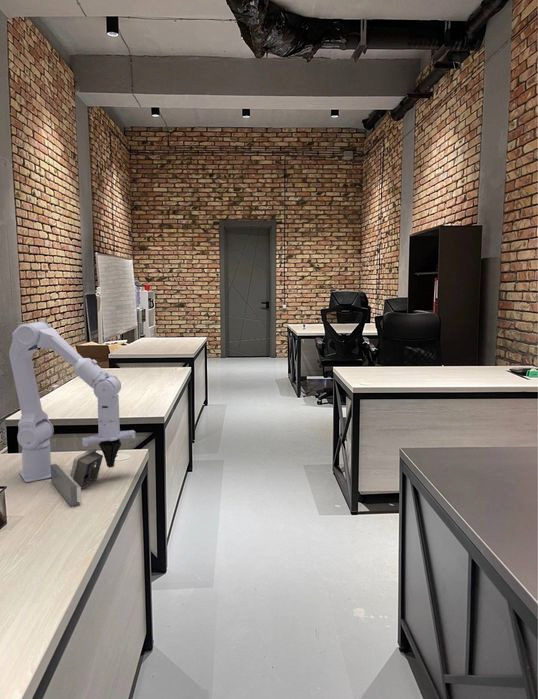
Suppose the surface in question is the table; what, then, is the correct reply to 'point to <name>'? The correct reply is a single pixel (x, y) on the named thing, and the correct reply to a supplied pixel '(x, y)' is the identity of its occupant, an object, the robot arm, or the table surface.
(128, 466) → the table surface
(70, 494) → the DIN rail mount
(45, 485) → the table surface
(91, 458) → the electrical switch
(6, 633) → the table surface
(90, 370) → the robot arm
